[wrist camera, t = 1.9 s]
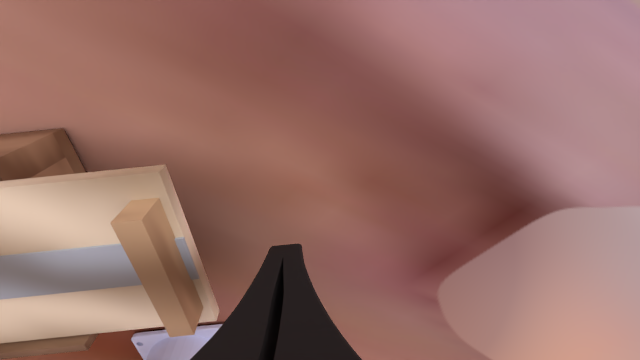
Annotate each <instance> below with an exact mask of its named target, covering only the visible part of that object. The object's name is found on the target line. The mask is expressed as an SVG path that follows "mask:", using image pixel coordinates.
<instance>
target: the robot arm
mask: <svg viewBox="0 0 640 360" xmlns="http://www.w3.org/2000/svg"><path fill="white" fill-rule="evenodd" d="M131 340H132V342H133V344H134V345H135V347H136V348H137V350H138V352H139V353H140V355H141V356H142V358H143V360H362V359H361V358H360V357H359V356H358V355H357V353H356V352H355V351H354V350H353V349H352V347H351V346H350V345H349V344H348V342H347V341H346V340H345V338H344V337H343V336H342V335H341V333H340V332H339V330H338V329H337V327H336V326H335V324H334V323H333V322H332V320H331V319H330V317H329V315H328V314H327V312H326V310H325V309H324V307H323V305H322V303H321V302H320V300H319V298H318V296H317V294H316V292H315V290H314V288H313V285H312V283H311V281H310V278H309V276H308V273H307V270H306V268H305V264H304V259H303V252H302V246H301V245H300V244H290V245H280V246H272V247H271V248H270V249H269V252H268V254H267V256H266V258H265V260H264V262H263V264H262V266H261V268H260V270H259V272H258V274H257V275H256V277H255V279H254V281H253V282H252V284H251V286H250V287H249V289H248V290H247V292H246V294H245V295H244V297H243V298H242V300H241V301H240V303H239V304H238V305H237V307H236V308H235V310H234V311H233V312H232V313H231V315H230V316H229V317H228V319H227V320H226V321H225V322H224V323H223V324H216V325H206V326H197V328H196V331H195V334H194V335H187V336H178V337H169V335H168V333H167V331H166V330H159V331H149V332H140V333H135V334H134V335H133V336H132V338H131Z"/></svg>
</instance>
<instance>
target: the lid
mask: <svg viewBox="0 0 640 360" xmlns="http://www.w3.org/2000/svg"><path fill="white" fill-rule="evenodd" d="M218 314H219V307H218V305H217V302H216V299H215V297H214V294H213V291H212V288H211V286H210V283H209V280H208V278H207V275H206V272H205V270H204V267H203V264H202V261H201V259H200V256H199V253H198V251H197V248H196V245H195V242H194V240H193V237H192V234H191V232H190V229H189V226H188V224H187V221H186V218H185V215H184V213H183V210H182V207H181V205H180V202H179V199H178V197H177V194H176V191H175V188H174V186H173V183H172V180H171V178H170V175H169V172H168V170H167V167H166V165H156V166H146V167H136V168H126V169H116V170H106V171H97V172H87V173H77V174H67V175H57V176H47V177H37V178H27V179H17V180H7V181H0V343H9V342H19V341H29V340H38V339H48V338H57V337H67V336H76V335H86V334H96V333H105V332H115V331H124V330H134V329H143V328H153V327H163V326H164V327H165V329H166V331H167V333H168V335H169V337H178V336H187V335H194V334H195V331H196V328H197V325H198V323H201V322H210V321H217V317H218Z"/></svg>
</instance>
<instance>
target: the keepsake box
mask: <svg viewBox="0 0 640 360" xmlns="http://www.w3.org/2000/svg"><path fill="white" fill-rule="evenodd" d="M77 173H86V171H85V170H84V168H83V166H82V164H81V162H80V160H79V158H78V156H77V154H76V152H75V150H74V148H73V146H72V144H71V143H70V141H69V139H68V137H67V135H66V133H65V131H64V129H63V128H61V129H51V130H41V131H31V132H21V133H11V134H1V135H0V181H7V180H17V179H27V178H37V177H47V176H57V175H67V174H77ZM98 334H99V333H96V334H86V335H76V336H67V337H57V338H48V339H38V340H29V341H19V342H9V343H0V359H8V358H18V357H27V356H37V355H46V354H56V353H65V352H75V351H84V350H89V348H90V346H91V345H92V343H93V342H94V340H95V339H96V337H97V336H98Z"/></svg>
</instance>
